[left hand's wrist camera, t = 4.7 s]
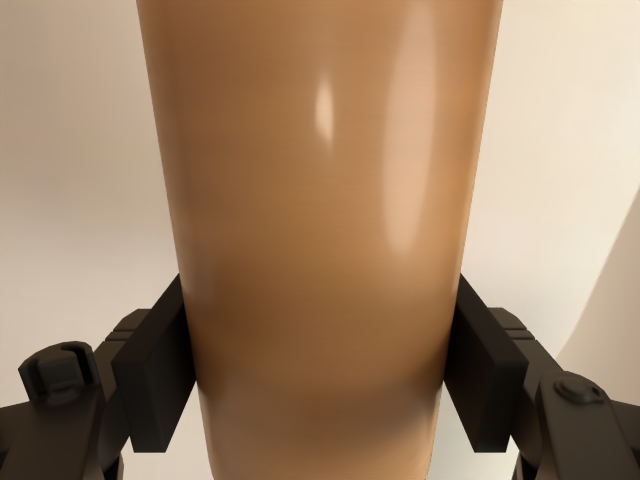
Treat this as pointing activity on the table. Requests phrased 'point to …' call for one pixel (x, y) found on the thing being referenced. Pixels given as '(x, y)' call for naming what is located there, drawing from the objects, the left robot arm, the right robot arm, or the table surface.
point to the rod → (319, 219)
